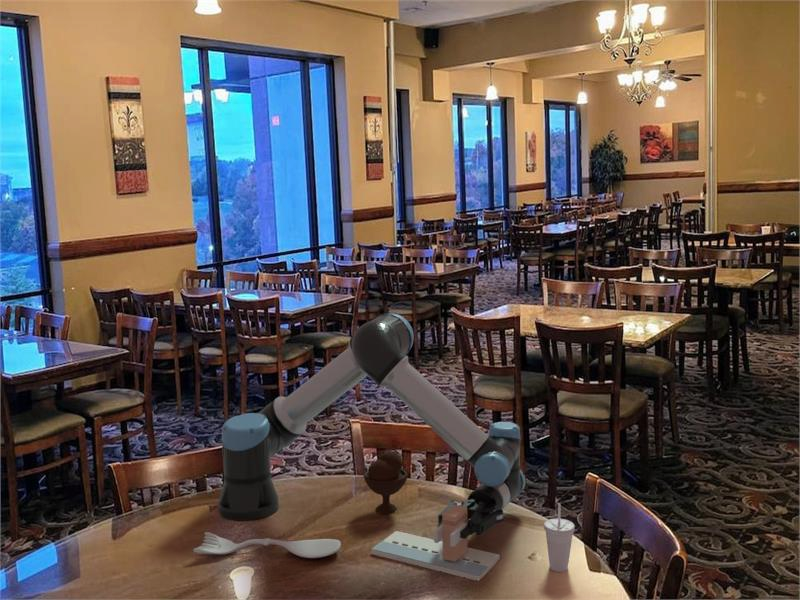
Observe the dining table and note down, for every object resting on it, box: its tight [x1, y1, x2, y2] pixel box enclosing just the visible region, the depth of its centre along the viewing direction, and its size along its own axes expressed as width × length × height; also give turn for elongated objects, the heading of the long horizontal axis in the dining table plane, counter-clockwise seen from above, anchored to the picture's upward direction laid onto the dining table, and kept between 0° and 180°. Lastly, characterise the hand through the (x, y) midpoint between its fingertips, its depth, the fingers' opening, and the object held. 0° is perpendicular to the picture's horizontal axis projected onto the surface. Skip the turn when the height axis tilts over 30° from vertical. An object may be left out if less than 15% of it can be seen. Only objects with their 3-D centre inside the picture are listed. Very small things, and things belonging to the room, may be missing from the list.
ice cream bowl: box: [363, 450, 409, 515], centre depth 199 cm, size 11×11×15 cm
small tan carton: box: [442, 505, 468, 562], centre depth 171 cm, size 3×6×10 cm, turn 150°
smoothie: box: [543, 503, 576, 573], centre depth 167 cm, size 6×6×14 cm
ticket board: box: [371, 530, 501, 582], centre depth 174 cm, size 26×11×1 cm, turn 60°
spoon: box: [193, 531, 342, 559], centre depth 177 cm, size 9×32×4 cm, turn 87°
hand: (443, 538), depth 166 cm, fingers closed on small tan carton, 3 cm apart
